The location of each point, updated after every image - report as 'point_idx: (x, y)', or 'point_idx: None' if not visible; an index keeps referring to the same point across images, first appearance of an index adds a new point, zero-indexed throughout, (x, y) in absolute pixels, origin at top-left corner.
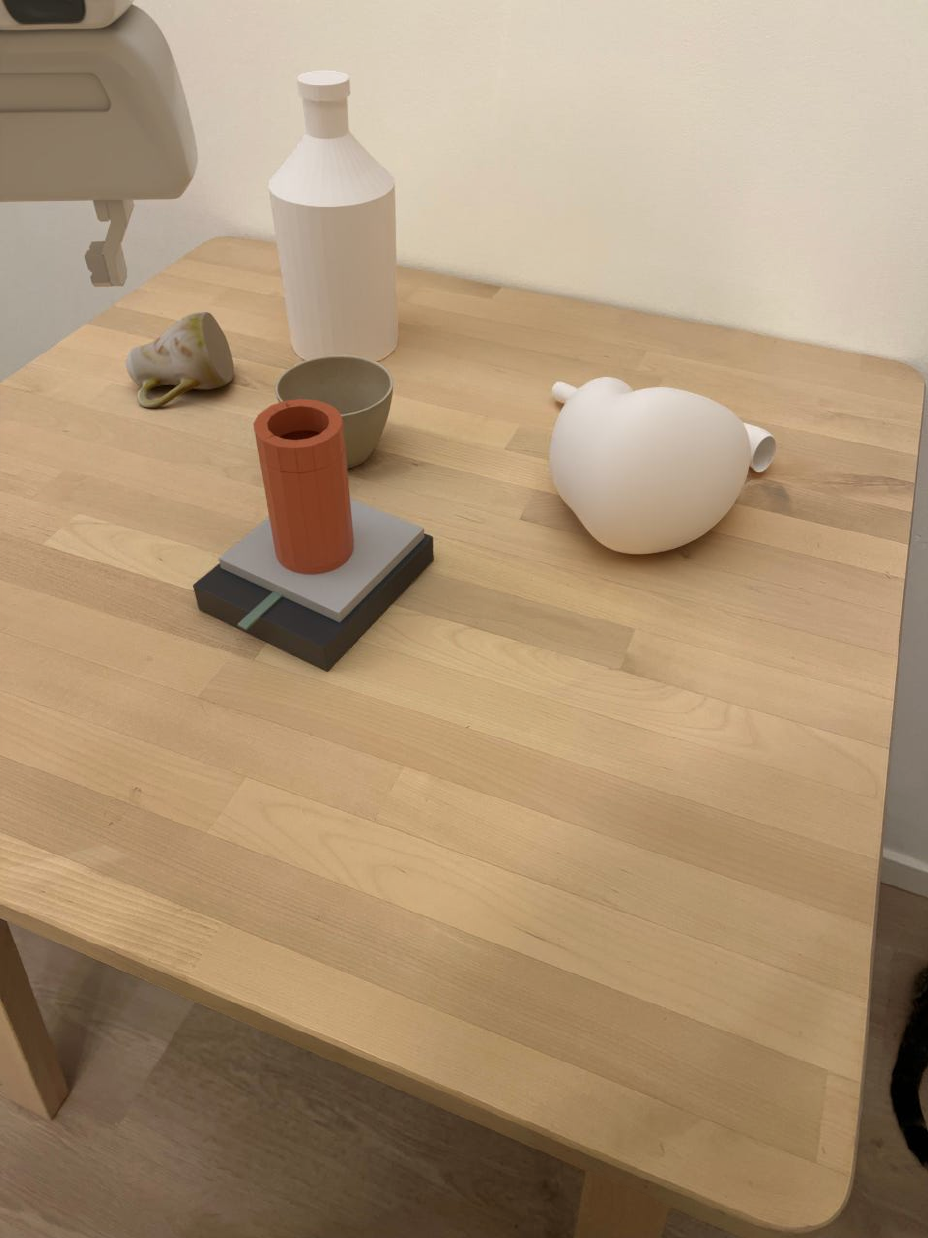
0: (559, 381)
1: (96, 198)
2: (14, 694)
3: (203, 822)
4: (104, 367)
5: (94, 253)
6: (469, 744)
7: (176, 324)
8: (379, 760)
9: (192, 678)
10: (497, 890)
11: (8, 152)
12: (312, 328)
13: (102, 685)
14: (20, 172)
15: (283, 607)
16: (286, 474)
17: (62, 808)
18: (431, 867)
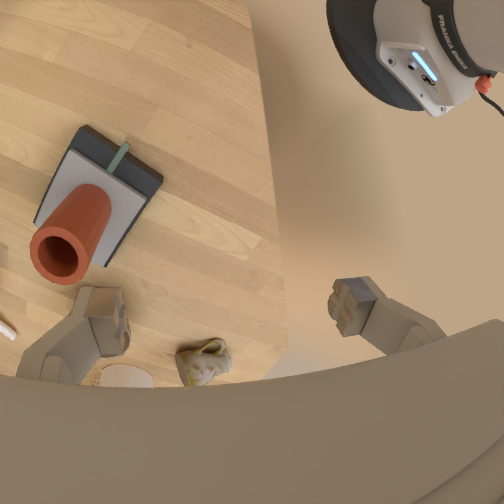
0: (13, 340)
1: (31, 380)
2: (263, 120)
3: (152, 25)
4: (245, 363)
5: (100, 322)
6: (23, 80)
7: (203, 382)
8: (63, 65)
9: (162, 120)
10: (28, 7)
11: (182, 483)
12: (135, 383)
13: (214, 119)
14: (162, 440)
15: (105, 161)
16: (68, 216)
17: (227, 40)
18: (50, 11)
